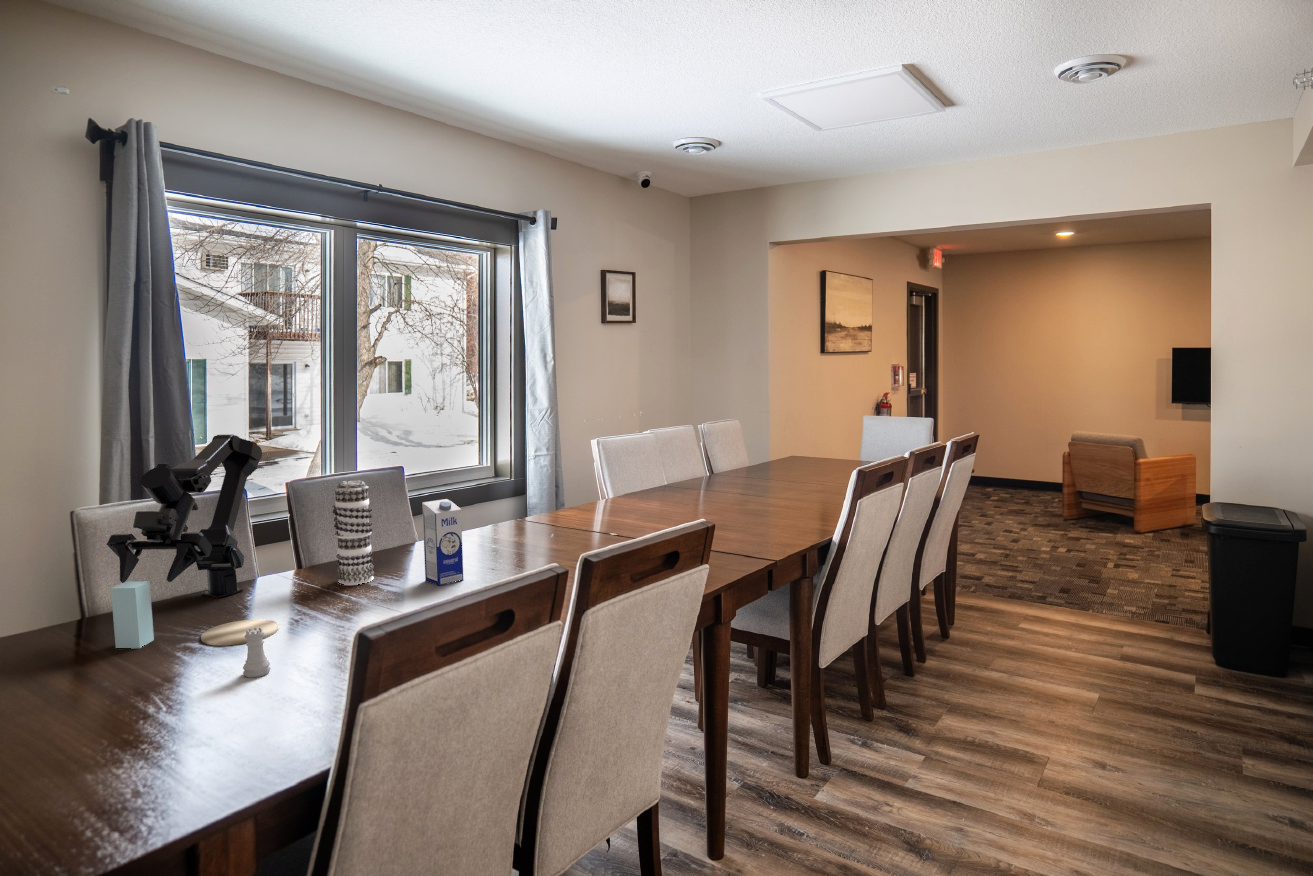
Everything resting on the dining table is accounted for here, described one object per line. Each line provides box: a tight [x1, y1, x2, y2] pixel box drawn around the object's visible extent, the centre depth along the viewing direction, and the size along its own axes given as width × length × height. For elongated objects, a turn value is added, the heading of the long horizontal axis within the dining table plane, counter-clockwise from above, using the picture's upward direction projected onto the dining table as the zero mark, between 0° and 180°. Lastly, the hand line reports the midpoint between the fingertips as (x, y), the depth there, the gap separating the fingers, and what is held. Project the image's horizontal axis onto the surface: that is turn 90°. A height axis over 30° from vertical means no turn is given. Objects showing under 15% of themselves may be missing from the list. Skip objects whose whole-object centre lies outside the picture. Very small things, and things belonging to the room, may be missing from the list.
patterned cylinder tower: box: [332, 479, 375, 586], centre depth 202 cm, size 9×9×25 cm
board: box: [200, 618, 280, 647], centre depth 165 cm, size 14×14×1 cm
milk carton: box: [421, 498, 464, 587], centre depth 201 cm, size 7×7×20 cm
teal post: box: [110, 580, 155, 649], centre depth 159 cm, size 5×5×12 cm
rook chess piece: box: [242, 628, 271, 679], centre depth 144 cm, size 4×4×8 cm
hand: (145, 581), depth 163 cm, fingers open, 9 cm apart
